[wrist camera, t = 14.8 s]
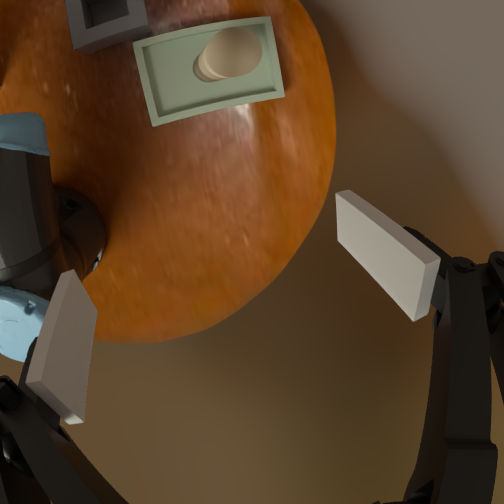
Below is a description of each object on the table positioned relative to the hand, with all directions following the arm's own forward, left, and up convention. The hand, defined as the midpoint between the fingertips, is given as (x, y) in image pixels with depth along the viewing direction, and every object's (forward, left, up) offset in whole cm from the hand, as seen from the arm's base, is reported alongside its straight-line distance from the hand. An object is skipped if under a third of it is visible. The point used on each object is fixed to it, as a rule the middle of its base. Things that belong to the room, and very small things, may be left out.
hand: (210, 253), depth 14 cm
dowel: (+6, +9, -30) cm, 32 cm away
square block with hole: (-5, +21, -32) cm, 38 cm away
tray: (+6, +9, -32) cm, 33 cm away
